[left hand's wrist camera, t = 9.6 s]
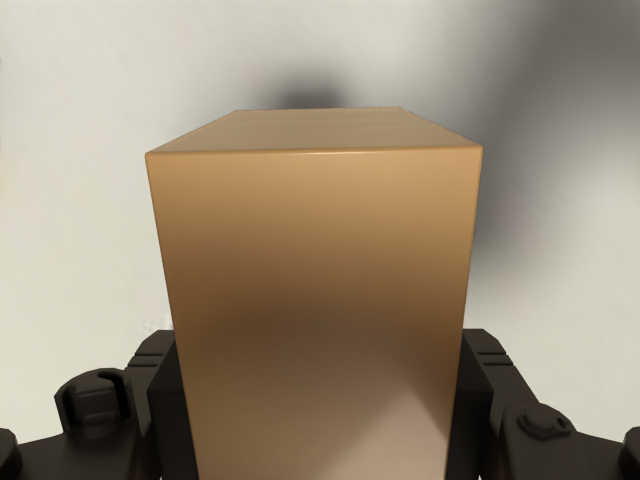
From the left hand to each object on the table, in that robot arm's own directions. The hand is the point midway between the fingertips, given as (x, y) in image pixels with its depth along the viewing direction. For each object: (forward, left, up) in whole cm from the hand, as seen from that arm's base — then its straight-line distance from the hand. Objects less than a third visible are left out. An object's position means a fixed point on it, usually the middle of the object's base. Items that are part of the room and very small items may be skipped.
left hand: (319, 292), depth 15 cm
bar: (-7, +22, -1) cm, 23 cm away
